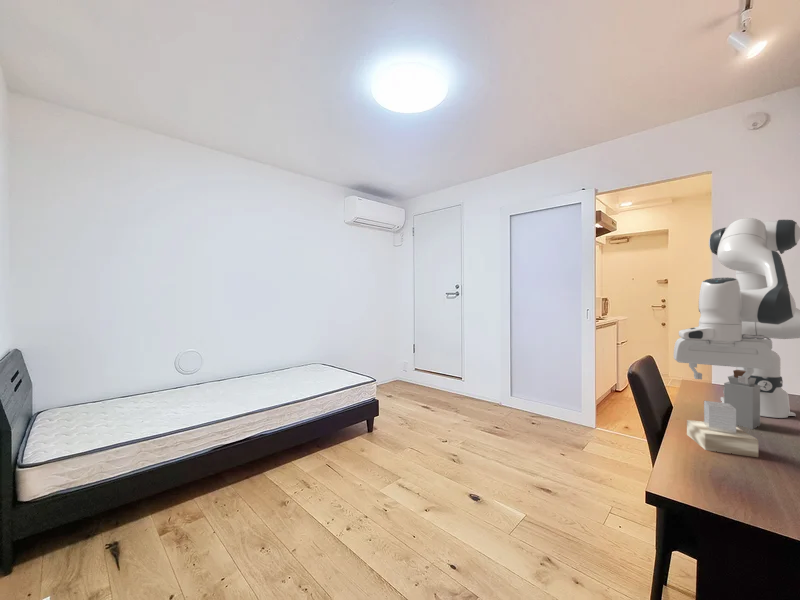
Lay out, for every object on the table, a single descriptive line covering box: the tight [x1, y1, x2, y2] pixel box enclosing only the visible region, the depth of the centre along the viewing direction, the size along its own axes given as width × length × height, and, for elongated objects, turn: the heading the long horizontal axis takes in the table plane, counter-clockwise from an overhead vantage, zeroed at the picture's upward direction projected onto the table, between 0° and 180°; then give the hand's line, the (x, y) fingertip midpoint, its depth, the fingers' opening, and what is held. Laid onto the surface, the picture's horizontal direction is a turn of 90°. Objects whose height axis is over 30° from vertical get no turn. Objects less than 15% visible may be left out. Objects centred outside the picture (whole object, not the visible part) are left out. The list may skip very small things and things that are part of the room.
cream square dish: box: [686, 419, 759, 458], centre depth 91 cm, size 11×11×5 cm
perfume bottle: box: [723, 369, 761, 430], centre depth 107 cm, size 7×7×18 cm
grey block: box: [703, 400, 737, 434], centre depth 91 cm, size 6×6×7 cm
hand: (719, 381), depth 91 cm, fingers open, 8 cm apart
